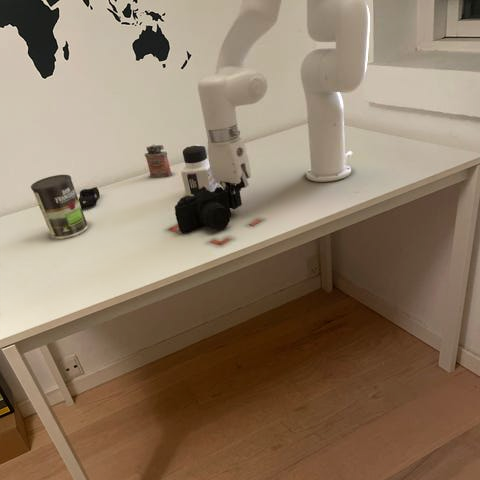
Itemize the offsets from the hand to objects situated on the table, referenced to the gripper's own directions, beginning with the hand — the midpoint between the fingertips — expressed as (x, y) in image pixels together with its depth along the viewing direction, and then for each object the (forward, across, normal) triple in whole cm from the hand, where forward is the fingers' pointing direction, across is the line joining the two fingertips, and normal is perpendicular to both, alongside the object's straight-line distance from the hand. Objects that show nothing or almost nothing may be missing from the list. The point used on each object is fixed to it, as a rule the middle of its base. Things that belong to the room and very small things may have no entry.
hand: (235, 206), depth 123 cm
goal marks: (+2, 0, +8) cm, 8 cm away
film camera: (+2, 0, +9) cm, 9 cm away
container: (+2, +21, -7) cm, 22 cm away
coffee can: (+2, +37, +29) cm, 47 cm away
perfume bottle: (+2, +47, -12) cm, 49 cm away
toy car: (+2, +51, +14) cm, 53 cm away
